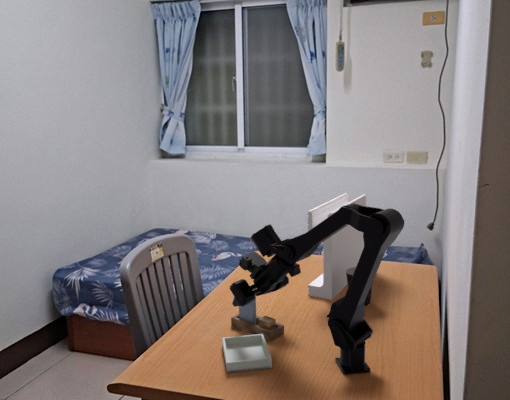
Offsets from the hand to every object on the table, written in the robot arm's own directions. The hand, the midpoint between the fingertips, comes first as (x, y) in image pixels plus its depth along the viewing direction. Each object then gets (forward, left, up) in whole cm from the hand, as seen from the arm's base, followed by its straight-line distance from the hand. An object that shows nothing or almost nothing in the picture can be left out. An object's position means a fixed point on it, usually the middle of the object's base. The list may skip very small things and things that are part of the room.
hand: (245, 299), depth 132 cm
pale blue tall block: (-1, -1, -8) cm, 8 cm away
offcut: (-6, -5, -6) cm, 10 cm away
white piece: (+29, -37, -8) cm, 48 cm away
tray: (-17, +2, -8) cm, 19 cm away
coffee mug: (+8, -36, -8) cm, 38 cm away
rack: (-3, -2, -8) cm, 9 cm away
